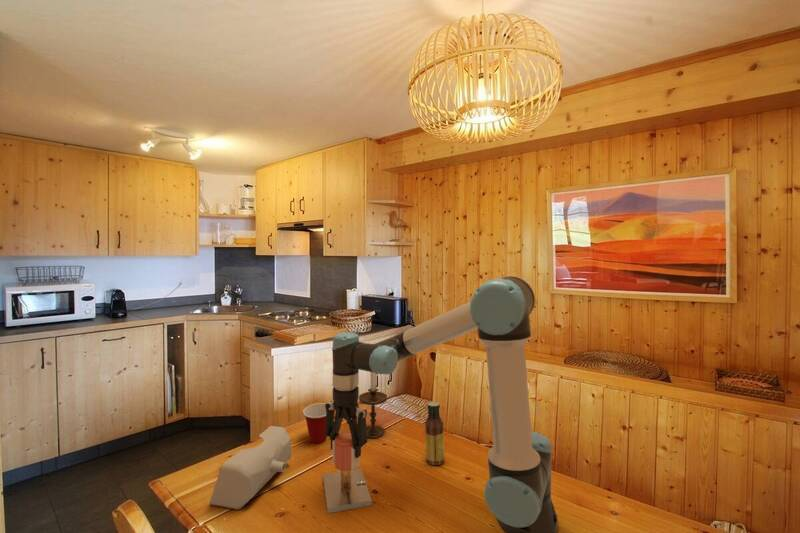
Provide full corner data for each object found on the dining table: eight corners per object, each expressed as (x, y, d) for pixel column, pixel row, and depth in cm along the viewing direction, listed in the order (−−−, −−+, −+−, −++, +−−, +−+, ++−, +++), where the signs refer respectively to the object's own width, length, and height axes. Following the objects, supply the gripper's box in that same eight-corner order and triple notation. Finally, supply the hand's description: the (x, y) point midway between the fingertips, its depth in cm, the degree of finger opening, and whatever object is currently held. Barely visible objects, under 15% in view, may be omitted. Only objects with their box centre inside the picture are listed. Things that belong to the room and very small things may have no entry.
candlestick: (357, 439, 142) (357, 347, 140) (361, 426, 152) (361, 340, 151) (385, 440, 141) (386, 347, 140) (387, 427, 152) (388, 341, 151)
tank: (259, 516, 101) (259, 470, 100) (208, 506, 104) (207, 462, 104) (304, 464, 125) (303, 427, 125) (261, 458, 129) (260, 422, 128)
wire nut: (357, 468, 109) (358, 441, 108) (336, 472, 107) (336, 444, 107) (354, 457, 115) (354, 431, 114) (334, 460, 113) (333, 434, 112)
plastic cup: (298, 446, 136) (298, 414, 136) (309, 432, 147) (309, 402, 147) (327, 448, 135) (327, 415, 134) (336, 434, 146) (336, 403, 145)
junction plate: (372, 506, 104) (372, 472, 104) (327, 514, 101) (327, 480, 101) (362, 472, 120) (362, 443, 120) (323, 479, 117) (323, 449, 117)
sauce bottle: (444, 456, 130) (444, 400, 129) (444, 467, 124) (445, 407, 123) (425, 455, 130) (425, 399, 130) (424, 466, 124) (424, 406, 124)
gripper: (380, 388, 108) (380, 466, 109) (328, 377, 118) (328, 449, 119) (365, 397, 102) (365, 480, 103) (311, 384, 111) (312, 461, 112)
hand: (345, 463), depth 111 cm, fingers closed on wire nut, 6 cm apart
